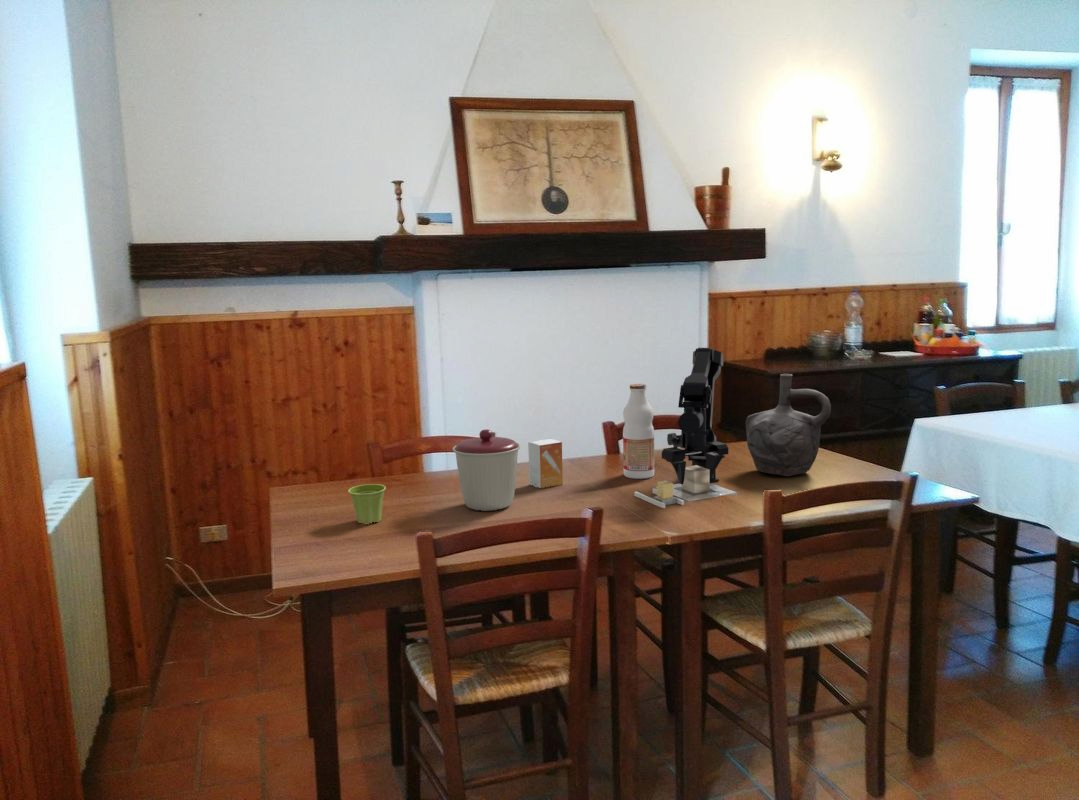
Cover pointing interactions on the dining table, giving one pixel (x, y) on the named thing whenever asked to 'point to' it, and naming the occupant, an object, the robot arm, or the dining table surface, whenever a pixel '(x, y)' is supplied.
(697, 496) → the plate
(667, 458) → the robot arm
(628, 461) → the fruit juice
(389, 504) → the dining table surface
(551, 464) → the small box
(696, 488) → the block
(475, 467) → the canister
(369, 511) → the plant pot
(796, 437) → the vessel
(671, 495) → the lever
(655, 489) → the rail
